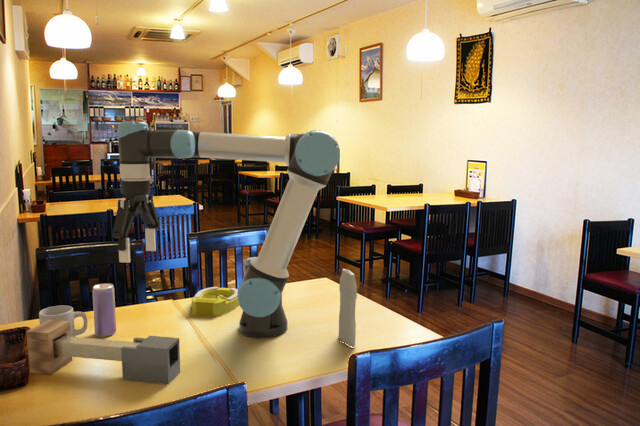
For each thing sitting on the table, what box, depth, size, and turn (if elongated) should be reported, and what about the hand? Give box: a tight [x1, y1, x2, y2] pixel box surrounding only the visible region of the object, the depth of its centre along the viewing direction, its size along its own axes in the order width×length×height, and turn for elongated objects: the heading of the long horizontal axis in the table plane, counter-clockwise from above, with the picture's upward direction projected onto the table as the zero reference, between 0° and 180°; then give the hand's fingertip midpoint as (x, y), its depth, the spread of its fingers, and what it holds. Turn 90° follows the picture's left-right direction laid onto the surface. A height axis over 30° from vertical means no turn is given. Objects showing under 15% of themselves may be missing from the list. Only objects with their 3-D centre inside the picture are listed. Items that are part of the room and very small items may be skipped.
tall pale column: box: [338, 268, 358, 347], centre depth 140 cm, size 11×4×22 cm, turn 21°
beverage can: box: [92, 283, 117, 338], centre depth 144 cm, size 6×6×15 cm
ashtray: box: [191, 286, 240, 317], centre depth 171 cm, size 16×21×5 cm
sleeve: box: [121, 335, 181, 385], centre depth 119 cm, size 12×6×9 cm, turn 81°
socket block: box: [25, 320, 73, 376], centre depth 123 cm, size 6×8×11 cm
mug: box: [38, 305, 88, 337], centre depth 135 cm, size 12×8×11 cm
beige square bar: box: [53, 336, 140, 362], centre depth 120 cm, size 28×4×4 cm, turn 81°
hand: (138, 256), depth 132 cm, fingers open, 13 cm apart
